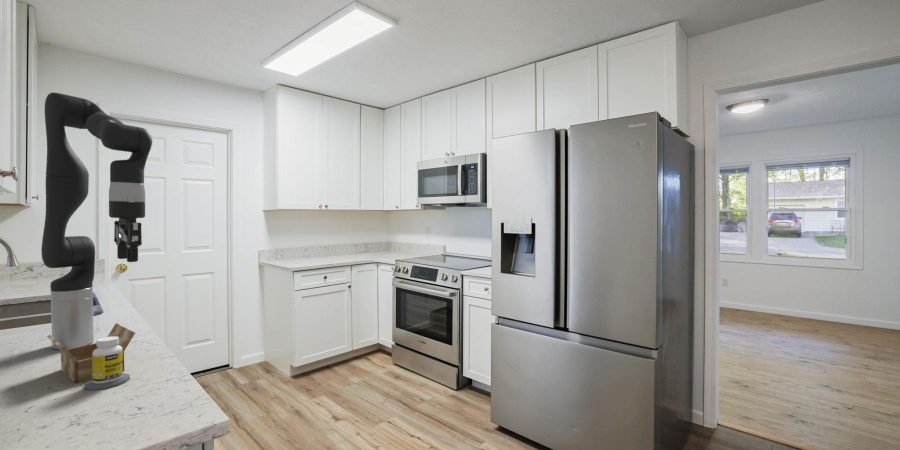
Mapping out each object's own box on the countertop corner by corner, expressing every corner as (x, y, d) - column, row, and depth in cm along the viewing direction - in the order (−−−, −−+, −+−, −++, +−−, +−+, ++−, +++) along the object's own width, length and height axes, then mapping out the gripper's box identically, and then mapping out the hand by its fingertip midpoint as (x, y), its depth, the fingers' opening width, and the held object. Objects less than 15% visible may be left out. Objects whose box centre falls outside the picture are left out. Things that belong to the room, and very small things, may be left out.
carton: (47, 372, 98) (46, 335, 98) (119, 356, 110) (118, 322, 109) (60, 387, 90) (59, 346, 90) (136, 367, 101) (135, 331, 101)
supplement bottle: (105, 385, 89) (104, 342, 89) (85, 383, 90) (85, 341, 90) (128, 376, 94) (128, 336, 94) (110, 374, 95) (109, 334, 95)
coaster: (80, 384, 91) (80, 381, 91) (123, 373, 98) (123, 370, 98) (90, 393, 87) (89, 390, 87) (134, 381, 93) (134, 378, 93)
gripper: (102, 199, 106) (102, 258, 106) (117, 199, 97) (117, 264, 98) (136, 200, 112) (136, 256, 112) (153, 200, 103) (153, 261, 104)
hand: (127, 260), depth 105 cm, fingers open, 8 cm apart
